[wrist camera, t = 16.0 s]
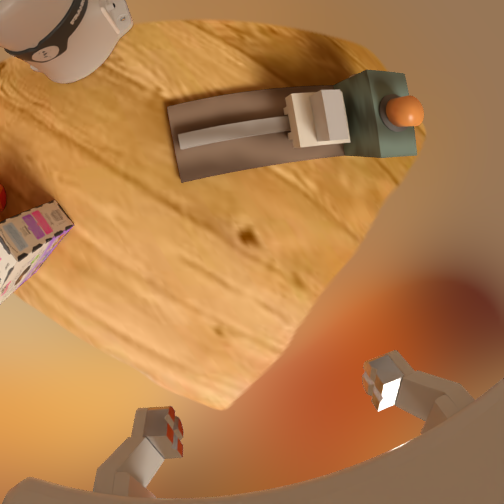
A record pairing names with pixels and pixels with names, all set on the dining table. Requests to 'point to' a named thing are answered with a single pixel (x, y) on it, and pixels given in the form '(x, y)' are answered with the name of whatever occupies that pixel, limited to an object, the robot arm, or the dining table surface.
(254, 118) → the rail base
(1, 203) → the paper cup
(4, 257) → the candy box
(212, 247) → the dining table surface
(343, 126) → the carriage
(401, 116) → the button
